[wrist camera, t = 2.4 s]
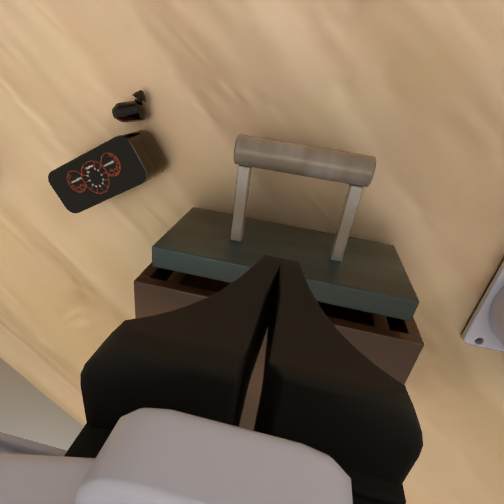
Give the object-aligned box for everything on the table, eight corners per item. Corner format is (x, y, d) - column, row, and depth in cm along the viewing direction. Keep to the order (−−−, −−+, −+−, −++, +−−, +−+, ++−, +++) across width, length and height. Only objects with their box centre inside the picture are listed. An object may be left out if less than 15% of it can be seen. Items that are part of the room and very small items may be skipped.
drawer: (197, 117, 19) (149, 130, 14) (427, 155, 18) (473, 185, 12) (185, 362, 28) (154, 427, 23) (337, 399, 27) (340, 476, 22)
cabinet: (187, 224, 23) (133, 280, 17) (392, 264, 22) (424, 344, 15) (181, 375, 30) (141, 457, 24) (336, 413, 29) (340, 513, 22)
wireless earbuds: (183, 162, 21) (162, 174, 18) (101, 200, 24) (71, 215, 21) (146, 89, 20) (117, 89, 17) (62, 137, 22) (24, 145, 19)
